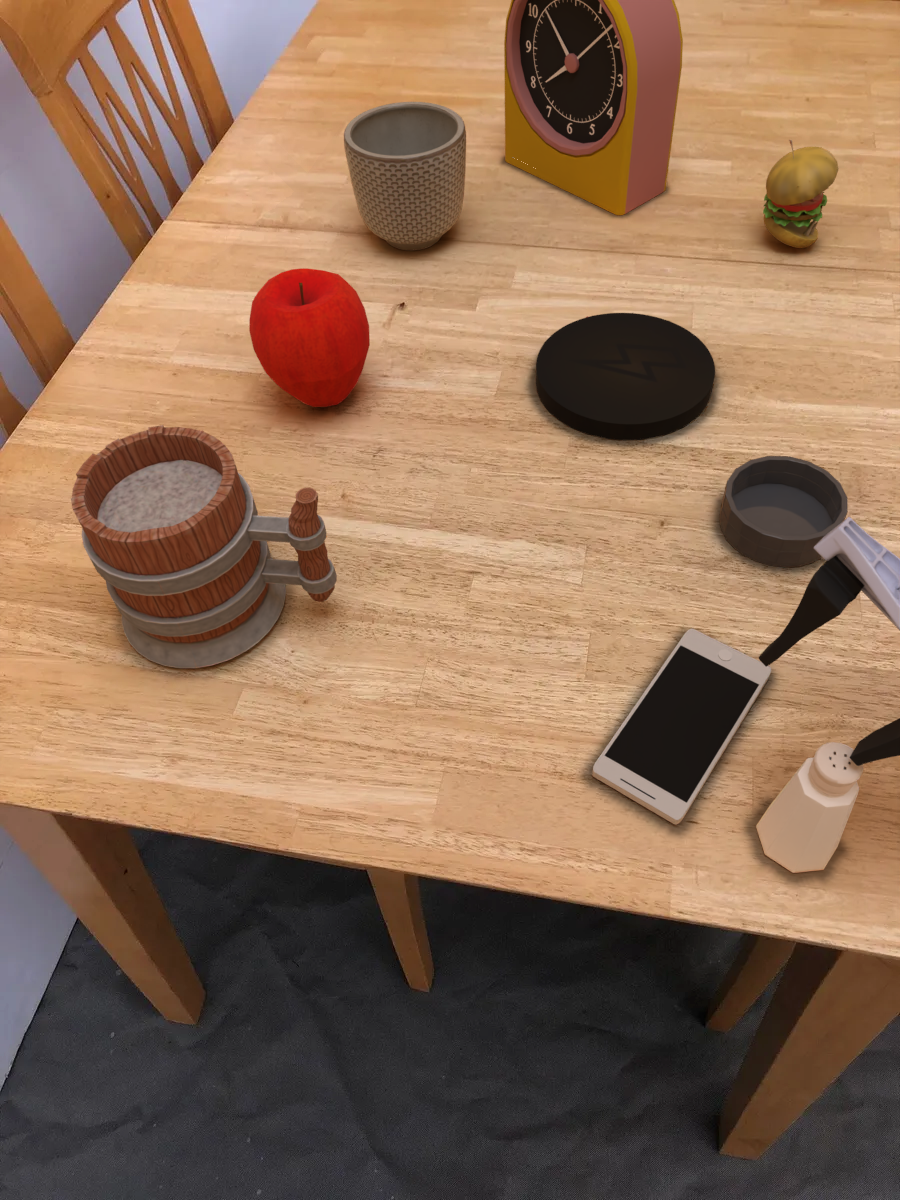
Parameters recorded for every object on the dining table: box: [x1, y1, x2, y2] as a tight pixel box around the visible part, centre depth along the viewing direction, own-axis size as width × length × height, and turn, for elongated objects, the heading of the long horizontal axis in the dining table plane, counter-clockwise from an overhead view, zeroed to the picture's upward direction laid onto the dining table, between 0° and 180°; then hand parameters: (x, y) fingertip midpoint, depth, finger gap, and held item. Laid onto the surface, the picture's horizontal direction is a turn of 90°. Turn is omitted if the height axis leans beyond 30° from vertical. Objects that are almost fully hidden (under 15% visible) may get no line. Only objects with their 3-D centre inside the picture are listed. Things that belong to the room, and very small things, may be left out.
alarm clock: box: [503, 0, 684, 216], centre depth 111 cm, size 21×9×26 cm, turn 42°
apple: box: [248, 267, 371, 408], centre depth 91 cm, size 12×12×13 cm
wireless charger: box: [535, 312, 716, 441], centre depth 94 cm, size 18×18×2 cm
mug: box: [70, 424, 338, 669], centre depth 73 cm, size 14×19×15 cm
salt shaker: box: [755, 741, 865, 874], centre depth 59 cm, size 5×5×11 cm
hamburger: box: [762, 139, 839, 249], centre depth 104 cm, size 8×7×12 cm
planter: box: [343, 101, 467, 252], centre depth 109 cm, size 14×14×13 cm
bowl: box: [718, 455, 849, 568], centre depth 80 cm, size 10×10×4 cm
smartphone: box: [591, 628, 772, 825], centre depth 69 cm, size 7×16×1 cm, turn 144°
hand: (812, 704), depth 55 cm, fingers open, 7 cm apart
